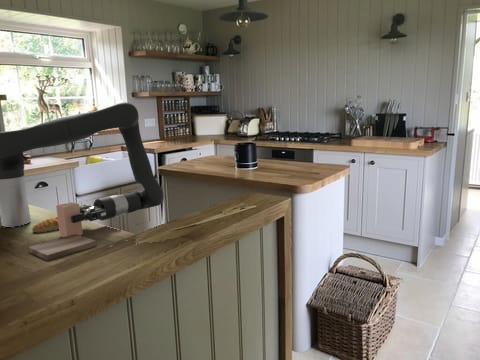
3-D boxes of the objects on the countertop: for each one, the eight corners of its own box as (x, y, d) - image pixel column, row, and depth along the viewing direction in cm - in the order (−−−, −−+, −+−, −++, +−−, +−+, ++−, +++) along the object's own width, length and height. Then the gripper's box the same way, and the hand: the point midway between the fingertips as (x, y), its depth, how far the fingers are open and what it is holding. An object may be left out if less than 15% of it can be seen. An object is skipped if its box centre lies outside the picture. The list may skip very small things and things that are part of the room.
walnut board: (29, 251, 115) (28, 246, 115) (76, 238, 125) (75, 234, 125) (47, 260, 107) (46, 255, 107) (96, 245, 117) (95, 240, 117)
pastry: (36, 235, 132) (34, 224, 131) (29, 231, 137) (28, 220, 136) (65, 228, 138) (64, 217, 137) (58, 225, 143) (57, 214, 142)
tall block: (60, 236, 129) (56, 205, 127) (75, 232, 133) (71, 202, 131) (67, 238, 126) (63, 207, 124) (82, 234, 130) (79, 204, 128)
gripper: (99, 194, 143) (53, 203, 131) (121, 198, 134) (74, 209, 122) (101, 214, 145) (56, 225, 133) (123, 220, 135) (77, 233, 123)
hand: (65, 217), depth 127 cm, fingers open, 8 cm apart
